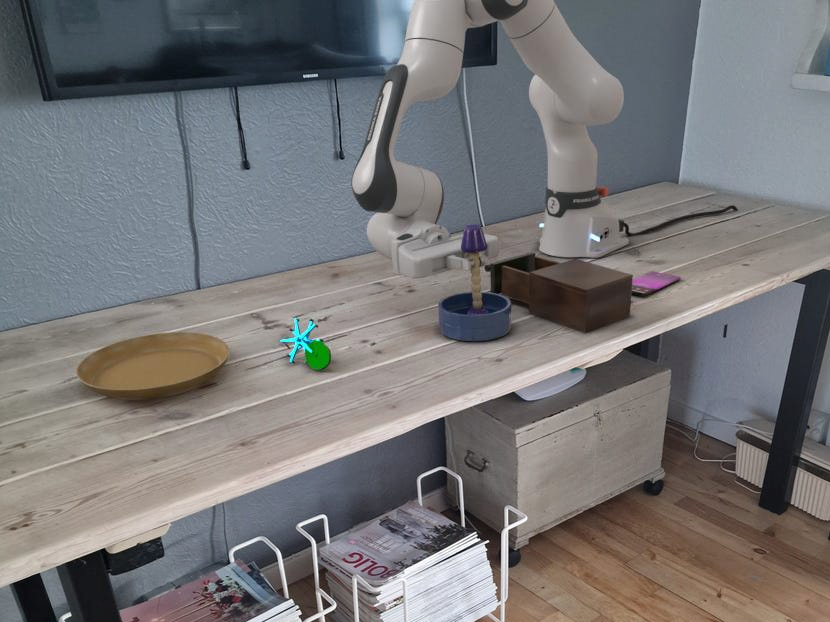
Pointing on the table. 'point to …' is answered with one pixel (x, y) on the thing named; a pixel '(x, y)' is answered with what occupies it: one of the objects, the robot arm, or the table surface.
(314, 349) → the stick construction toy
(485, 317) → the bowl
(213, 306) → the table surface
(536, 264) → the drawer
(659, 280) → the smartphone
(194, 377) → the plant saucer
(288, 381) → the table surface
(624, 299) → the cabinet
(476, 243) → the toy lamp
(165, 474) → the table surface
